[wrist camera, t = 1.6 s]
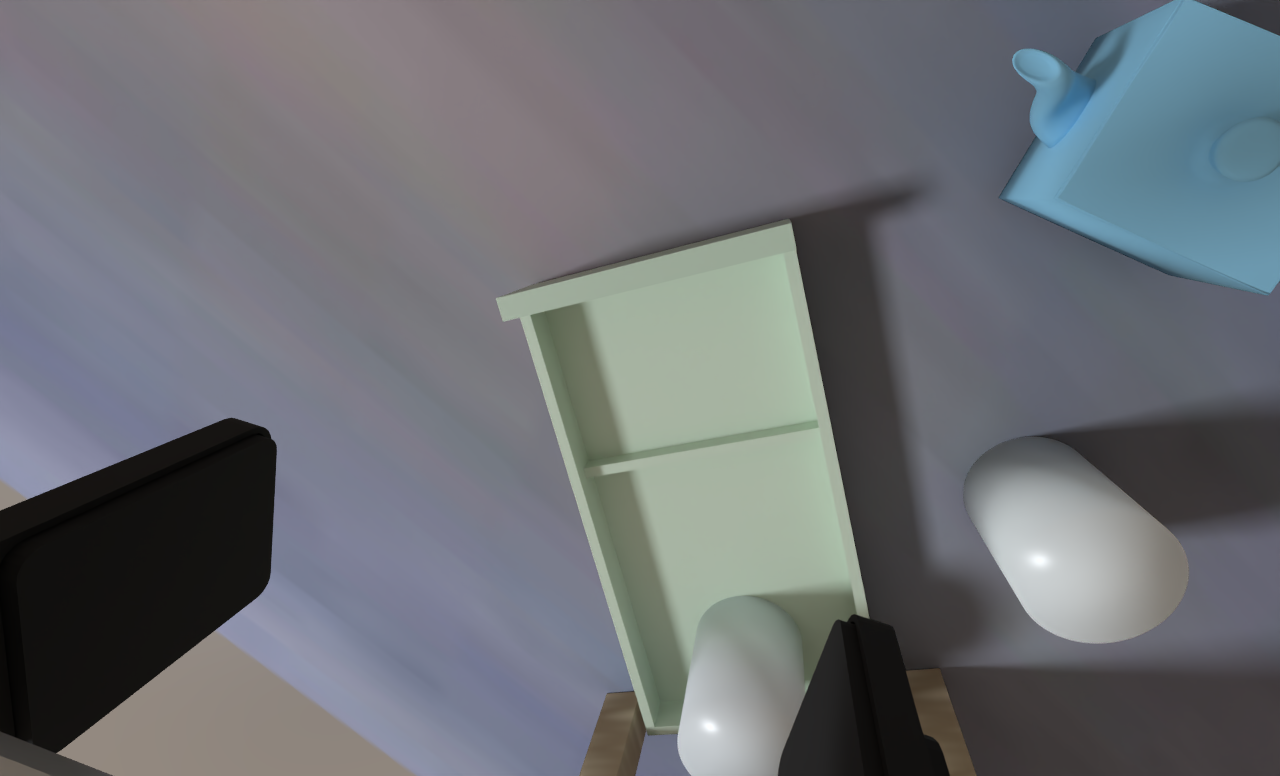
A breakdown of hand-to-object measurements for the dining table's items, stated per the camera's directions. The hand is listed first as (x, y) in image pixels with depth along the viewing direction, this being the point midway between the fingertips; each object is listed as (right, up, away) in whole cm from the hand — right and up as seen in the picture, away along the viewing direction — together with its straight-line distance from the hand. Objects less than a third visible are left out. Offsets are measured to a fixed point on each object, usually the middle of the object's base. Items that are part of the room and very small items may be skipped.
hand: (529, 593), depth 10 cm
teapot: (+20, +13, +15) cm, 28 cm away
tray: (+5, -2, +22) cm, 23 cm away
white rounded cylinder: (+7, -10, +23) cm, 26 cm away
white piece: (+19, -1, +19) cm, 27 cm away
